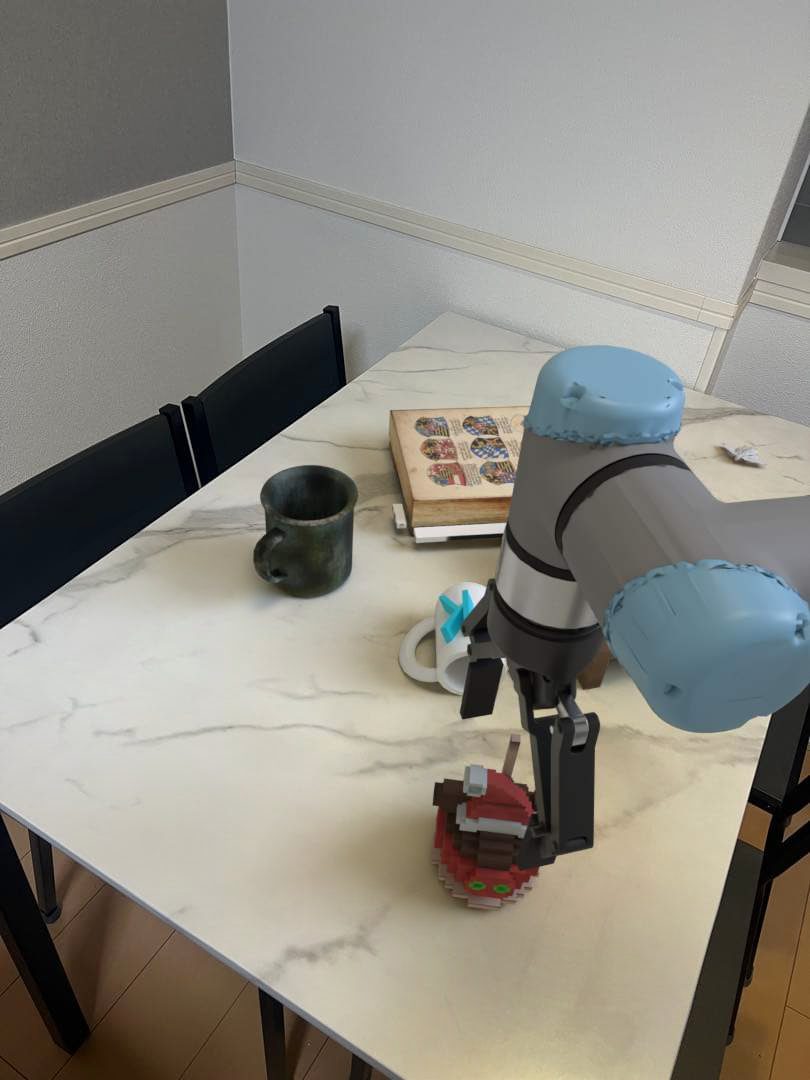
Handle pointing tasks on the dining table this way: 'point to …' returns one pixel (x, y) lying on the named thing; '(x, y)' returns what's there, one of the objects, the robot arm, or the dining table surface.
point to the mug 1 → (307, 530)
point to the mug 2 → (445, 639)
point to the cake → (483, 833)
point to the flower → (745, 453)
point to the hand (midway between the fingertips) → (502, 782)
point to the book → (456, 470)
